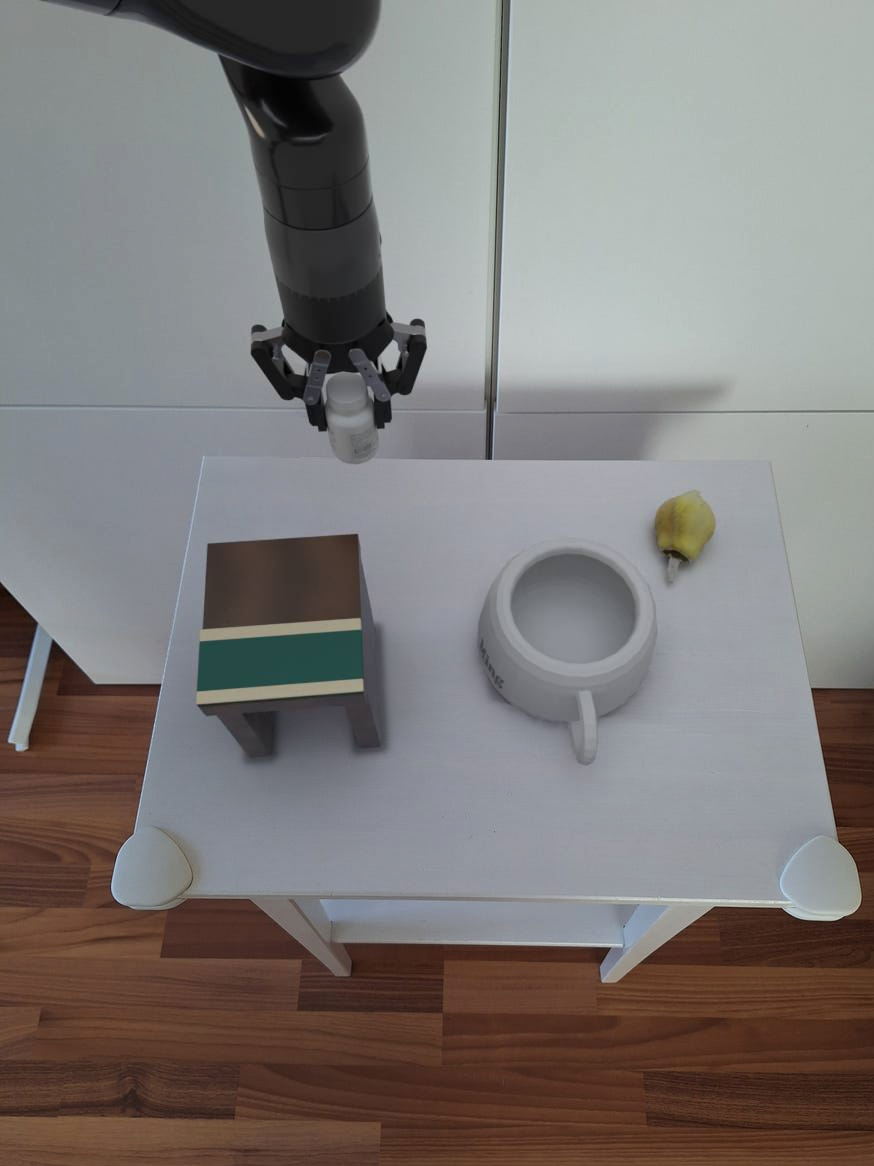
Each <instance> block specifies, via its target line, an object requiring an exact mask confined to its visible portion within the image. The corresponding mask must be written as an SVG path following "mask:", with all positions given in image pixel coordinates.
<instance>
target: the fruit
mask: <svg viewBox="0 0 874 1166" xmlns="http://www.w3.org/2000/svg"><path fill="white" fill-rule="evenodd" d="M700 494H701V492H700V491H699V490H697V489H692V490H689V491H686V492H684V493H682V494H680V495H677V496H674V497H671V498H668V499H667V500H665V501H664V502H662V504H660V506H659V507H658V508H657V511H656V513H655V516H654V525H653V526H654V532H655V535H656V538H657V547H658V550H659V551H660V553H661V554H662V555H664V556H667V557H669V561H668V564H667V574H668V582H669V583H672V584H673V583H674V581H675V579H676V577H677V573H678V570H679V565H680V563H681V562H682V563H687V564H689V563H693V562H694V561H695V560H696V559H697V558H698V556H699V554H700V553H701V552H702V551H703V550H704V549H705V547H706V545H707V544H708V543H709V542H710V541H711V539H712V538H713V536H714V534H715V531H716V523H717V521H716V516H715V514H714V511H713V510H712V508H711V506H710V504H709V503H708V502H707V501H706V500H704V499H703V497H702V496H701V495H700Z"/></svg>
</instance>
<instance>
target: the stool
mask: <svg viewBox="0 0 874 1166" xmlns="http://www.w3.org/2000/svg"><path fill="white" fill-rule="evenodd" d="M361 549H362V548H361V543H360V538H359V533H348V534H347V533H346V534H332V535H315V536H302V537H285V538H271V539H256V540H242V541H239V540H238V541H228V542H227V541H225V542H223V541H222V542H210V543H209V542H208V543H207V545H206V561H205V562H206V563H205V580H204V599H203V600H204V601H203V619H202V629H215V628H229V627H243V626H257V625H270V624H284V623H298V622H312V621H325V620H339V619H353V618H361V625H362V651H363V676H364V694H354V695H341V696H329V697H316V698H304V699H291V700H278V701H266V702H253V703H241V704H228V705H215V706H203V707H198V708H199V709H200V711H201V712H202V713H203V715H204V716H205V717H213V716H216V717H217V719H219V721H220V722H221V724H222V725H223V726H224V727H225V728H226V730H227V731H228V732H229V734H230V735H231V736H232V737H233V739H234V740H235V741H236V742H237V744H238V745H239V746H240V747H241V749H242V750H243V751H244V752H245V754H246V755H247V756H248V757H249V758H260V757H271V756H272V749H273V747H272V742H273V741H272V739H273V736H272V735H273V712H276V711H288V710H289V711H290V710H301V709H313V708H315V709H316V708H326V707H327V708H328V707H337V706H338V707H339V706H344V708H345V710H346V715H347V717H348V719H349V723H350V725H351V727H352V730H353V734H354V736H355V739H356V742H357V745H358V748H359V749H368V748H369V749H370V748H380V747H382V737H381V715H380V699H379V698H380V695H379V694H380V693H379V692H380V691H379V673H378V671H379V670H378V654H377V653H378V651H377V649H378V648H377V634H376V633H377V632H376V625H375V621H374V615H373V610H372V606H371V599H370V596H369V591H368V586H367V581H366V576H365V571H364V566H363V561H362V552H361Z"/></svg>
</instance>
